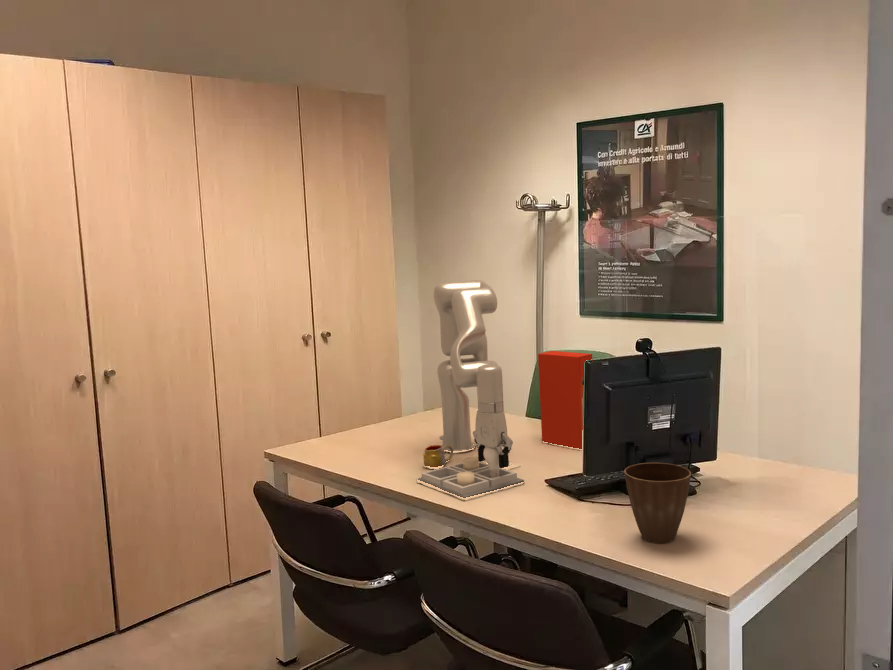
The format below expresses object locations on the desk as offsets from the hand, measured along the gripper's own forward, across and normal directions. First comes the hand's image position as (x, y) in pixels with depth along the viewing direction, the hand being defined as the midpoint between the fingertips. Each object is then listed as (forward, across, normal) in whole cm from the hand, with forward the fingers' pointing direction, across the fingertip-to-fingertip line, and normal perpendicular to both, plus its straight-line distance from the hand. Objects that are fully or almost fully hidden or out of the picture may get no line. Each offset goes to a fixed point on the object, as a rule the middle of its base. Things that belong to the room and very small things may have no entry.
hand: (493, 463), depth 228 cm
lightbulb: (+5, 0, 0) cm, 5 cm away
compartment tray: (+6, -6, -5) cm, 10 cm away
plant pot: (+6, +60, +1) cm, 60 cm away
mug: (+6, -28, 0) cm, 28 cm away
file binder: (+6, -16, +46) cm, 49 cm away
